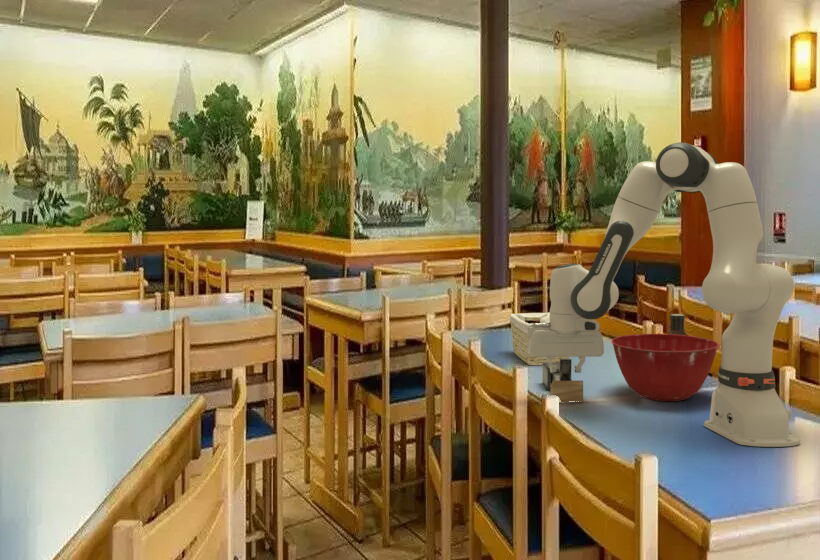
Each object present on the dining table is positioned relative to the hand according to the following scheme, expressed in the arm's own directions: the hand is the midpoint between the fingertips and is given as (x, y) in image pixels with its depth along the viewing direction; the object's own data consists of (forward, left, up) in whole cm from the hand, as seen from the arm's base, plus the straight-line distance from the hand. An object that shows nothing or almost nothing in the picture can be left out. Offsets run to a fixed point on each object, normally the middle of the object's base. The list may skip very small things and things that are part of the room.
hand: (565, 372), depth 204 cm
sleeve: (+14, 0, -8) cm, 16 cm away
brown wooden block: (-2, 0, -8) cm, 8 cm away
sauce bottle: (+23, -38, -8) cm, 45 cm away
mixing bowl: (+4, -28, -8) cm, 29 cm away
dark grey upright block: (+4, 0, -6) cm, 8 cm away
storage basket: (+54, -1, -8) cm, 55 cm away
